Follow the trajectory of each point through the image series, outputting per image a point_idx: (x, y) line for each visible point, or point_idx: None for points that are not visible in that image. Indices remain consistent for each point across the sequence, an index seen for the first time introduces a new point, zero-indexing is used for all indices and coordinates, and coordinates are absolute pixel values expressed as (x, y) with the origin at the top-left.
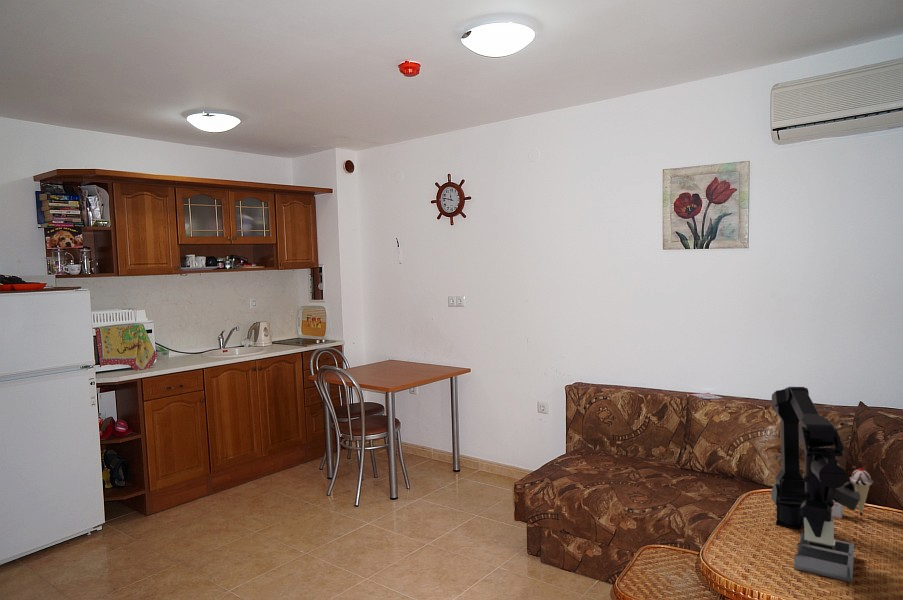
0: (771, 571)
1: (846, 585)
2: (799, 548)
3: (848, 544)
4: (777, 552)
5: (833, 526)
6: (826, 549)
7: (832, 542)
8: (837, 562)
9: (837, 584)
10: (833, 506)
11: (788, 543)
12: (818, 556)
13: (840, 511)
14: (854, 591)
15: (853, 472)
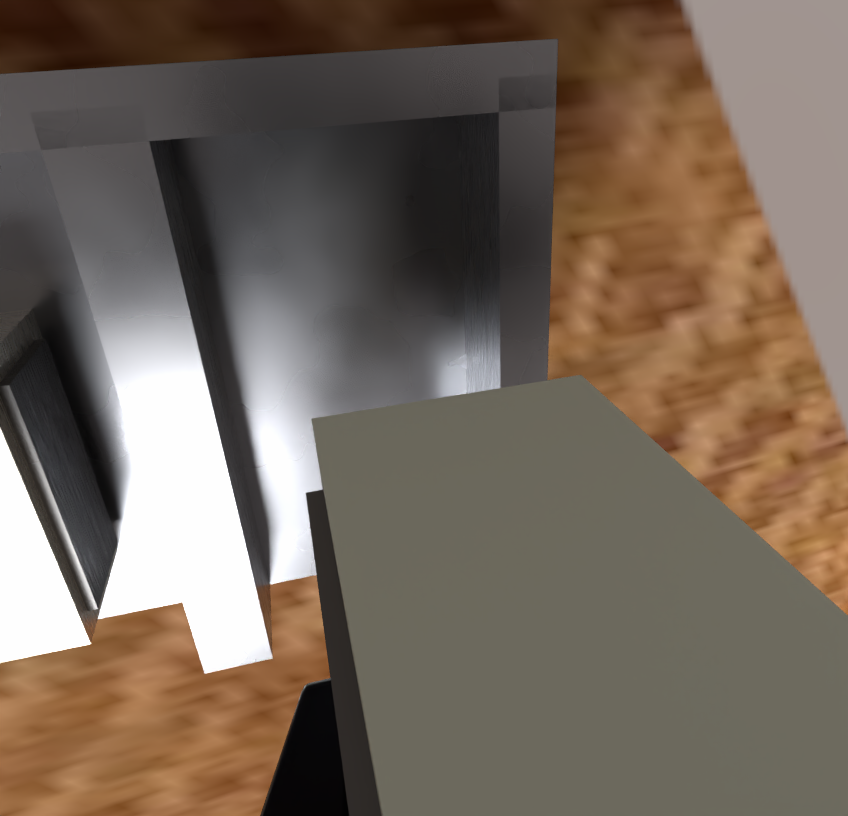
0: None
1: (574, 97)
2: (268, 614)
3: None
4: (277, 678)
5: (565, 642)
6: (163, 421)
7: (603, 408)
8: (195, 253)
9: (594, 178)
10: None
11: (13, 690)
12: (234, 441)
13: None
14: (664, 7)
15: None
